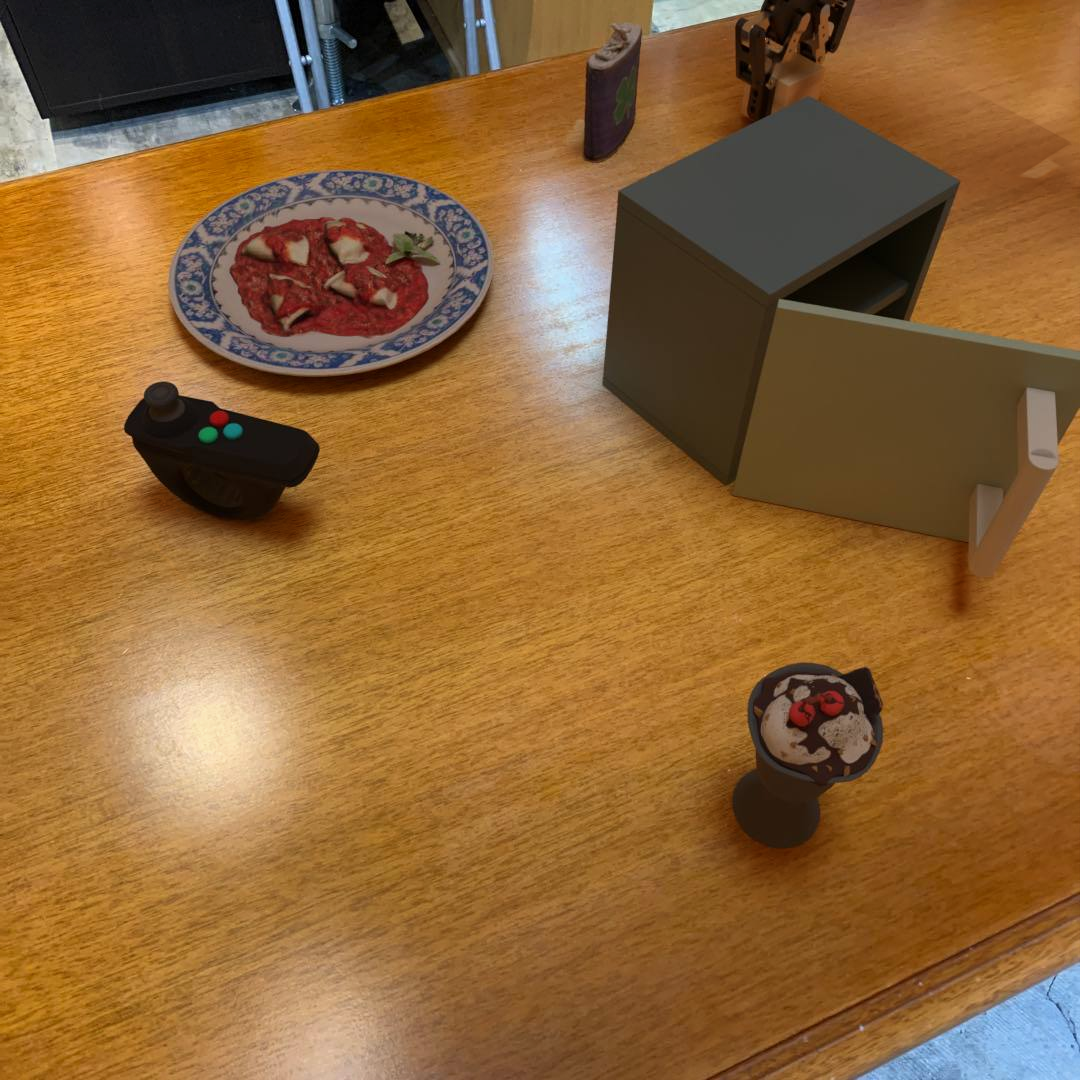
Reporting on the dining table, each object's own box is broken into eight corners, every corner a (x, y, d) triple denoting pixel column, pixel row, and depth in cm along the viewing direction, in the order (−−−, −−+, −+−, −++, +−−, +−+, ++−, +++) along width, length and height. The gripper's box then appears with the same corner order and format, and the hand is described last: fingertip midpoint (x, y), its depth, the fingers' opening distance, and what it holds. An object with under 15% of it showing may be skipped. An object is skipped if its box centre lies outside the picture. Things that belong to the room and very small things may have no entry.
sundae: (713, 855, 59) (762, 724, 47) (720, 746, 63) (767, 599, 52) (835, 874, 59) (916, 746, 47) (834, 763, 63) (908, 619, 51)
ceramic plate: (173, 416, 79) (163, 386, 77) (175, 207, 95) (167, 177, 92) (520, 372, 83) (520, 342, 80) (467, 177, 98) (466, 147, 96)
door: (999, 625, 69) (1113, 445, 56) (718, 566, 71) (763, 381, 58) (999, 540, 73) (1104, 354, 60) (733, 487, 76) (778, 298, 62)
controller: (176, 465, 76) (137, 359, 68) (339, 505, 74) (318, 401, 66) (146, 510, 74) (101, 406, 66) (314, 553, 72) (288, 450, 64)
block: (775, 95, 106) (785, 46, 102) (814, 117, 104) (825, 67, 100) (740, 113, 104) (748, 63, 100) (778, 136, 102) (788, 85, 98)
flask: (615, 109, 105) (624, -2, 97) (643, 117, 105) (654, 6, 96) (576, 158, 100) (582, 45, 92) (605, 166, 99) (614, 54, 91)
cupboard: (889, 374, 83) (961, 180, 70) (725, 487, 76) (770, 294, 62) (765, 289, 89) (808, 95, 76) (601, 385, 82) (617, 190, 68)
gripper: (790, -39, 85) (755, 154, 99) (906, -88, 91) (858, 101, 104) (722, -72, 89) (697, 119, 102) (838, -117, 95) (799, 69, 108)
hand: (778, 109), depth 103 cm, fingers closed on block, 5 cm apart
